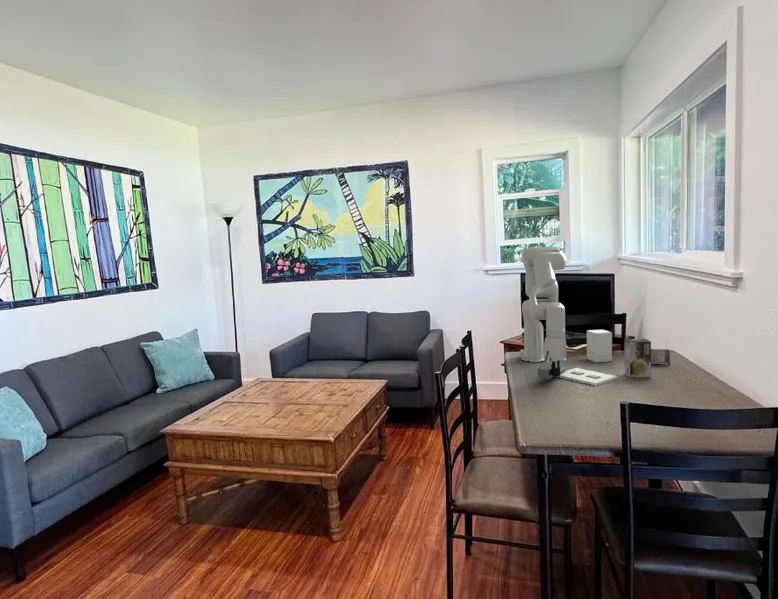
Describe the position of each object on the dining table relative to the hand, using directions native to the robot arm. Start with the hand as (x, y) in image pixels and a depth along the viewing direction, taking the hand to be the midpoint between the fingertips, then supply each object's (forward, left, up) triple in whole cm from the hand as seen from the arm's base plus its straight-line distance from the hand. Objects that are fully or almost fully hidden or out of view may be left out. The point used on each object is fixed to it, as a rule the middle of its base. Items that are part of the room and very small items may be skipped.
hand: (555, 375), depth 203 cm
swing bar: (-6, +7, -1) cm, 10 cm away
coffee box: (+16, +36, -4) cm, 39 cm away
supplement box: (-11, +50, -4) cm, 51 cm away
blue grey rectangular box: (+12, +61, -4) cm, 62 cm away
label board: (+1, +17, -3) cm, 17 cm away
